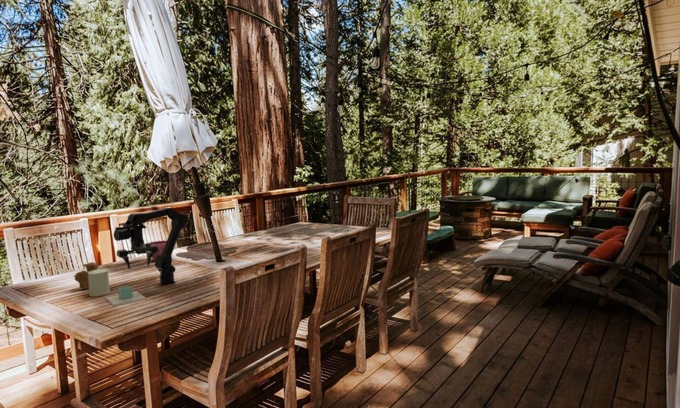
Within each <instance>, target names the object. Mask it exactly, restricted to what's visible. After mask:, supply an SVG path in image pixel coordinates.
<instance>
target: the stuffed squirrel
mask: <svg viewBox="0 0 680 408" xmlns="http://www.w3.org/2000/svg"><path fill="white" fill-rule="evenodd" d="M83 266H84V268H86V270H81V271H78V272H77V273H75V274H74V275H73V278H74V280H75V282H77V283H79V285H78V286H79V288H81V289H82V290H89V280H88V272H89V271H93V270H98V269H100V268H101V267H100V265H98V264H97V263H96V262H93V261H92V262H88V263H84V264H83Z"/></svg>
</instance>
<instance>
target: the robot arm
mask: <svg viewBox="0 0 680 408" xmlns="http://www.w3.org/2000/svg"><path fill="white" fill-rule="evenodd" d="M166 216H167V217H168V219H169V220H171V222H170V227H171V229H170V231H169V235H168V237H167V240H166V241H167V242H166V245H165V247H164V250H163V253H162V254H161V255H157V257H156V260H155V262H154V266H155V268H156V269H157V271H158V272H159V273H160V274H159V275H158V276H159V278H158V279H159V283H160V284H161V285H162V286H163V285H165V286H166V285H169V284H174V283H176V281H175V274H174V273H175V272H176V267H175V266H174V265H173V264H172V262H173V259H172V257H173V256H172V255H173V252H174V249H175V247H176V244H177V242H178V239H179V236H180V232H181V231H182V230H183V229H184V228H185V227H186V224H187V223H188V219H189V218H188V216H187V215H186V214H182V213H181V212H178V211H177V210H175V209H173V208H172V207H164V208H160V209H156V210H152V211H148V212H137V213H134V212H133V213H129V215H128V216H127V220H126V221H125V223H124V224H123V226H116V227H115V229H114V232H113V238H114V241H117V242H120V241H126V240H130V245H131V246H130V249H129V250H127V249H119V250H117V251H116V257H119V258H121V259H122V260H123V261H124V263H125V265H126V266H127V268H128V270H131V264H130V256H128V255H132V254H136V255H142V254H146V266H147V267H149V266H150V263H151V260H152V256H153V254H155V253H156V252H158V247H157V246H154V245H152V246H151V245H150V242H147V243H145V240H144V234H143V233H144V231H143V229H147V226H146V225H144V224H145V223H147V222H148V221H150V220H151V221H152V220H154V219H159V218H162V217H166Z"/></svg>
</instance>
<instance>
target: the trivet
mask: <svg viewBox="0 0 680 408" xmlns="http://www.w3.org/2000/svg"><path fill="white" fill-rule="evenodd" d="M132 293H133V298H128V299H123V300H121V299H120V298H119V294H116V295H111V296H106V298H105V299H106V300H107V301H108V302H109V303H110V304H111V305H112V306H113V307H116V306H120V305H124V304H130V303H134V302H138V301H142V300H146V297H145V296H144V295H143V294H141V293H140V292H139V291H137V290H136V291H132Z"/></svg>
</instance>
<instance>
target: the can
mask: <svg viewBox="0 0 680 408" xmlns="http://www.w3.org/2000/svg"><path fill="white" fill-rule="evenodd" d="M87 272H88V271H87ZM88 280H89V289H88V290H89V291H88V292H89V293H88V294H89V296H91V297H100V296H101V297H102V296H105V295H107V294H110V292H111V291H110V279H109V269H106V268H101V269H99V268H97V270H93V271H89V272H88Z"/></svg>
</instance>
